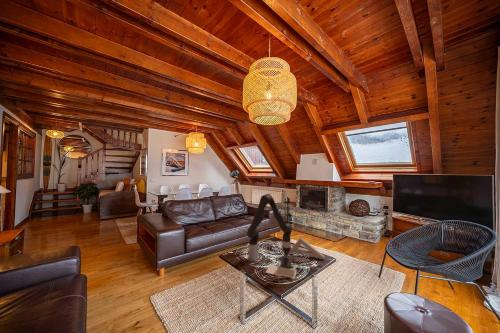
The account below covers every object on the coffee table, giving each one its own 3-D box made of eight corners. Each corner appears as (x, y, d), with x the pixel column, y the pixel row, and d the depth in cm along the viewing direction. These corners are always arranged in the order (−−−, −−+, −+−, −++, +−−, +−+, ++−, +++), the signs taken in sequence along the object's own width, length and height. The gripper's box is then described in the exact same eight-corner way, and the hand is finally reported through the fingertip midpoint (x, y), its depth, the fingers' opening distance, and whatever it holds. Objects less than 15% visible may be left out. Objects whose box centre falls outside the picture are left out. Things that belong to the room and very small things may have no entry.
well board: (265, 273, 178) (265, 266, 178) (269, 265, 191) (269, 259, 191) (294, 279, 168) (294, 272, 168) (296, 270, 182) (296, 264, 181)
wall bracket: (311, 273, 206) (288, 253, 214) (311, 270, 210) (288, 251, 218) (324, 258, 201) (300, 238, 209) (324, 256, 205) (300, 237, 213)
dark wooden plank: (291, 272, 178) (291, 257, 177) (291, 274, 175) (291, 258, 174) (281, 270, 181) (281, 255, 181) (281, 272, 178) (281, 257, 178)
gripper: (289, 249, 169) (289, 267, 170) (291, 243, 183) (291, 260, 183) (280, 248, 172) (280, 266, 172) (283, 241, 185) (283, 258, 186)
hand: (286, 263), depth 178 cm, fingers open, 8 cm apart
